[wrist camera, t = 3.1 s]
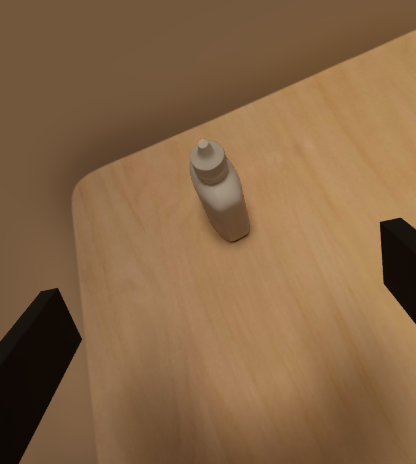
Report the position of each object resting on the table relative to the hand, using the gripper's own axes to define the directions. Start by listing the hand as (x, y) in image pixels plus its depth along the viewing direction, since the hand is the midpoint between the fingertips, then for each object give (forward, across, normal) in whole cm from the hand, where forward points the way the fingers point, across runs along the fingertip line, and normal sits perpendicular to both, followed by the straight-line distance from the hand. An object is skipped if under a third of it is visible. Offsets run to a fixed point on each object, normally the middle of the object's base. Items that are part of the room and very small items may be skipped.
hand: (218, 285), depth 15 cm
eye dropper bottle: (+20, 0, -5) cm, 21 cm away
